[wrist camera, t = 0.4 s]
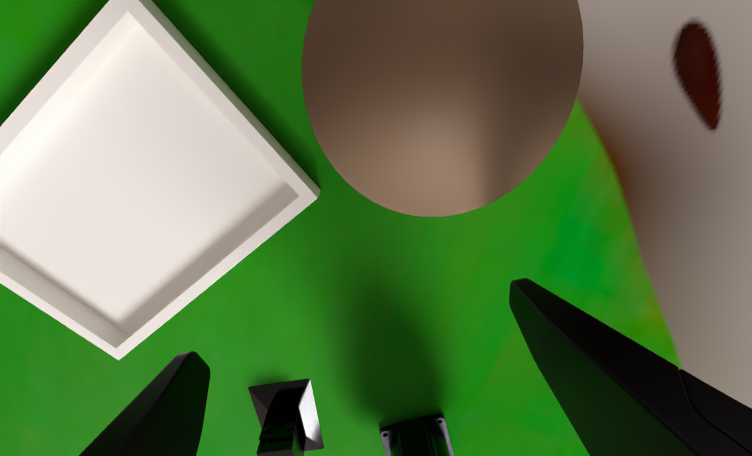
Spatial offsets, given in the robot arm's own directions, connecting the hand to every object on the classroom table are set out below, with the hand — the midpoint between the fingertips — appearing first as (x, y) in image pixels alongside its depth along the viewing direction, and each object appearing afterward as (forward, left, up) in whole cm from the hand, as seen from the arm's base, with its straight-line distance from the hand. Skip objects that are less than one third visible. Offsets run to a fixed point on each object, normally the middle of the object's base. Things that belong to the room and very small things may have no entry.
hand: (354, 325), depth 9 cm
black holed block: (-20, +12, -15) cm, 27 cm away
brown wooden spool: (+5, -4, -14) cm, 16 cm away
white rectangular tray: (+3, +14, -14) cm, 20 cm away
